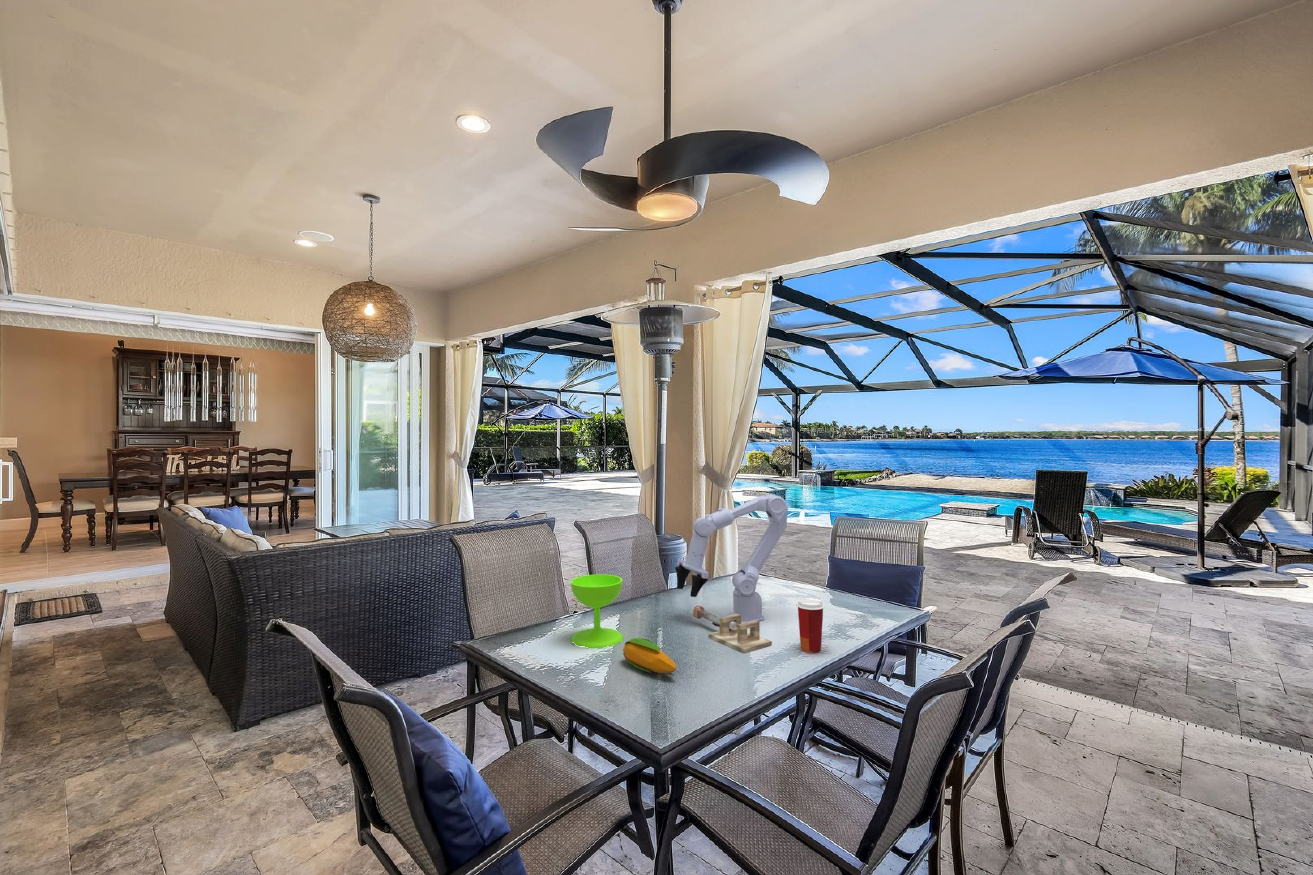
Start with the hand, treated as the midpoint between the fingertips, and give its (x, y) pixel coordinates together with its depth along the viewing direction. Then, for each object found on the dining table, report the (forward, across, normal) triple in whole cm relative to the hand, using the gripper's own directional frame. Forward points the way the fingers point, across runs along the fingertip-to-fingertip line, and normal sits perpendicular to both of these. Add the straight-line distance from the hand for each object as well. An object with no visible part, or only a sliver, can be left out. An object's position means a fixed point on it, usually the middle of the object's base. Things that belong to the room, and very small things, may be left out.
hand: (686, 592), depth 190 cm
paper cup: (+1, +42, +15) cm, 44 cm away
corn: (+14, +27, -29) cm, 42 cm away
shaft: (+5, +14, +3) cm, 15 cm away
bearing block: (+6, +25, +4) cm, 26 cm away
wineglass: (+17, -2, -29) cm, 34 cm away
